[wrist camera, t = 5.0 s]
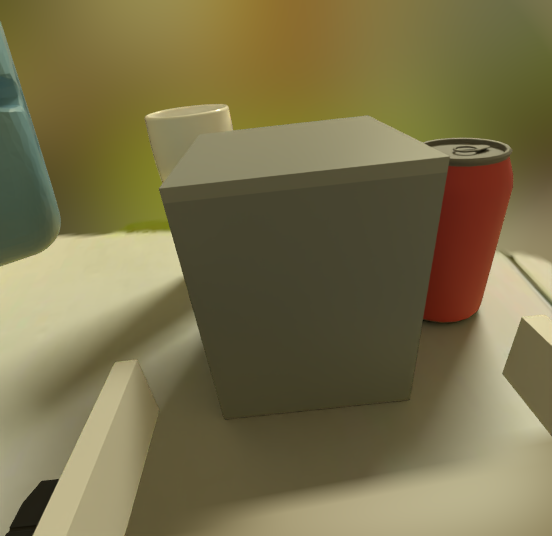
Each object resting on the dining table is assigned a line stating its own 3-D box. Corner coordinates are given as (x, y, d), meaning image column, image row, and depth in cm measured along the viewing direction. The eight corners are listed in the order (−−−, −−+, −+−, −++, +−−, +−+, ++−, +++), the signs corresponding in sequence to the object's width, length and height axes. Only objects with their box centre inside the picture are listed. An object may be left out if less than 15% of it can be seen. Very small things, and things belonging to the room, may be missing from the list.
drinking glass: (173, 281, 34) (124, 119, 26) (215, 249, 39) (184, 105, 31) (228, 296, 31) (190, 117, 23) (266, 260, 36) (245, 102, 28)
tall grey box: (224, 419, 20) (158, 188, 13) (234, 305, 30) (199, 134, 22) (409, 399, 20) (450, 156, 13) (360, 291, 30) (367, 115, 22)
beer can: (499, 319, 25) (552, 152, 19) (412, 333, 25) (437, 167, 18) (449, 272, 31) (477, 131, 24) (378, 283, 30) (388, 143, 24)
